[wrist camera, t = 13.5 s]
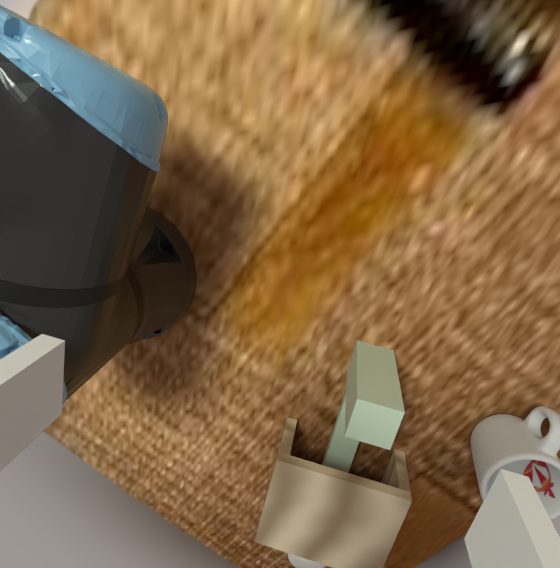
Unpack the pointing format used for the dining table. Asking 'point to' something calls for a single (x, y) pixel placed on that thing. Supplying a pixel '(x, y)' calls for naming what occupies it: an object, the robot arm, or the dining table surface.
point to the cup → (520, 453)
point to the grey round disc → (303, 562)
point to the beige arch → (333, 510)
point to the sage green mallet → (366, 406)
